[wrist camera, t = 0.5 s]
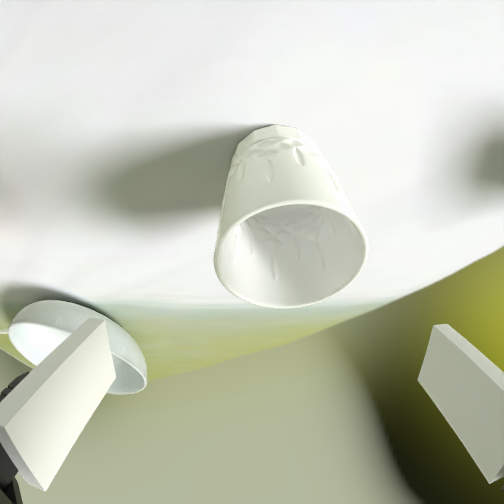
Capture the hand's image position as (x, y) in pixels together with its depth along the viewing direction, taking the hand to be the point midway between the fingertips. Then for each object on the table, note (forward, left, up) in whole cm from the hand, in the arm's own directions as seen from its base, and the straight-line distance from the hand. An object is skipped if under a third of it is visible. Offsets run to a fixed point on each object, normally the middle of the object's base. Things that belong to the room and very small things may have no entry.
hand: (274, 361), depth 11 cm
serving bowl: (+22, -26, -16) cm, 38 cm away
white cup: (+1, +1, -16) cm, 16 cm away
